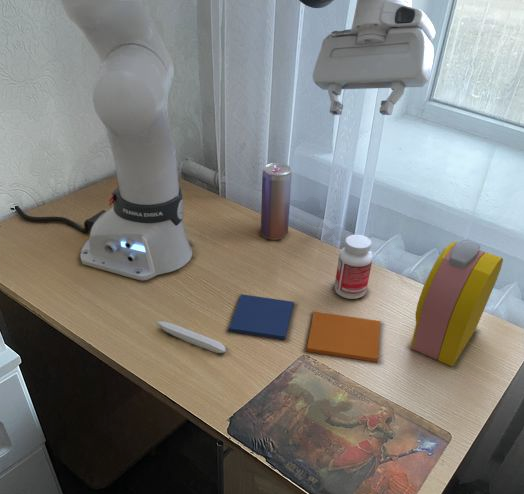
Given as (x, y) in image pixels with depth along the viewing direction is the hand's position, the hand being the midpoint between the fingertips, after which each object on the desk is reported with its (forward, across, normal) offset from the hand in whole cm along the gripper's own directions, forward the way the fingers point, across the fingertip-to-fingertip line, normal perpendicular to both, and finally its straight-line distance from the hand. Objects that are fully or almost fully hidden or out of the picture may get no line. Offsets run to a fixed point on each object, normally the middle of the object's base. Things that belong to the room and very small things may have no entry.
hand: (359, 114), depth 89 cm
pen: (+43, -14, -14) cm, 47 cm away
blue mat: (+37, -9, -3) cm, 38 cm away
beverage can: (+20, -24, +16) cm, 35 cm away
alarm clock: (+34, +19, +14) cm, 41 cm away
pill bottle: (+29, -1, +13) cm, 32 cm away
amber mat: (+37, +5, +3) cm, 37 cm away
